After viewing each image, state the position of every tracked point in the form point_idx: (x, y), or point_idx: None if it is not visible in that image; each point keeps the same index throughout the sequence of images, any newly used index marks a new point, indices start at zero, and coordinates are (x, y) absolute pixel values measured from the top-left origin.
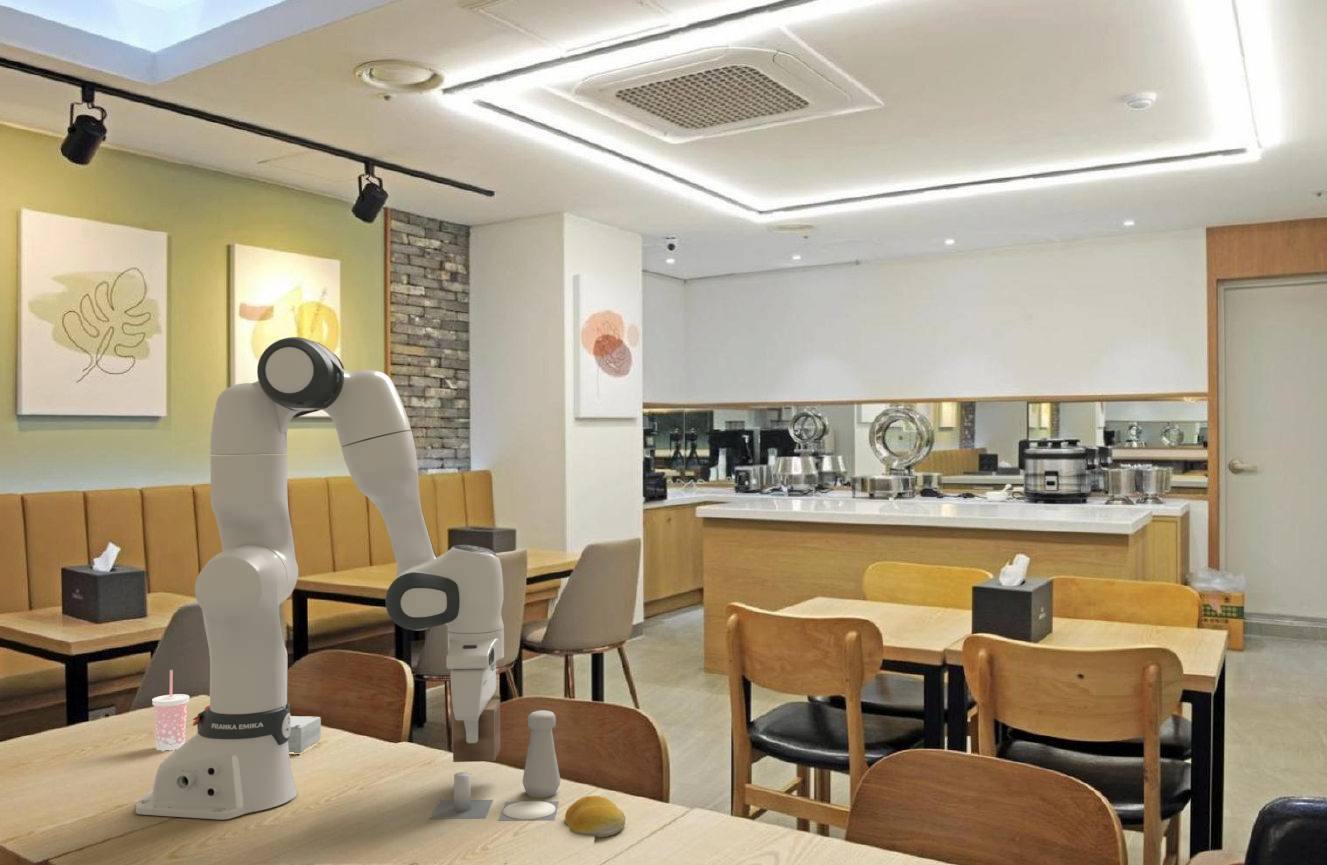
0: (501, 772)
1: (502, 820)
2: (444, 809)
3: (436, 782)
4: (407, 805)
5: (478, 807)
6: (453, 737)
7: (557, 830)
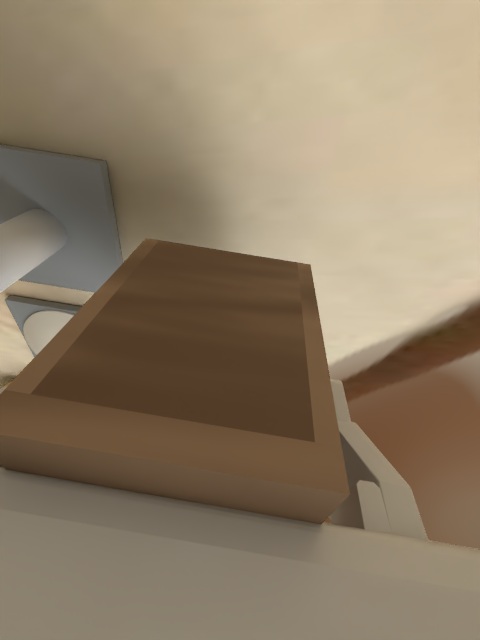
0: (359, 318)
1: (8, 305)
2: (27, 181)
3: (331, 129)
4: (72, 20)
5: (66, 266)
6: (99, 292)
7: (22, 366)
